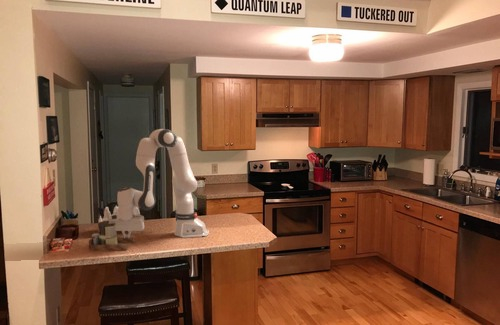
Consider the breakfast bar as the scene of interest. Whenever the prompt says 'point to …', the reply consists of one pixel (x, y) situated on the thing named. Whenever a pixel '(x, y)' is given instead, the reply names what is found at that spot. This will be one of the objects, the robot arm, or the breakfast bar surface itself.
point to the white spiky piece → (107, 212)
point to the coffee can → (107, 233)
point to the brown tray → (111, 247)
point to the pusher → (96, 239)
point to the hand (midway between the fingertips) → (127, 237)
